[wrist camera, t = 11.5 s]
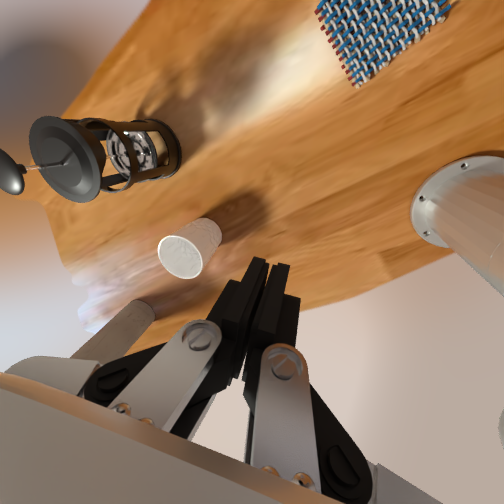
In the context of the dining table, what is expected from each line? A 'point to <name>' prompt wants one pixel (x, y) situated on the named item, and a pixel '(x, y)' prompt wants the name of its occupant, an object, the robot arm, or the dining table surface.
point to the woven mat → (375, 30)
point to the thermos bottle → (117, 334)
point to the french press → (91, 156)
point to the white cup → (190, 248)
